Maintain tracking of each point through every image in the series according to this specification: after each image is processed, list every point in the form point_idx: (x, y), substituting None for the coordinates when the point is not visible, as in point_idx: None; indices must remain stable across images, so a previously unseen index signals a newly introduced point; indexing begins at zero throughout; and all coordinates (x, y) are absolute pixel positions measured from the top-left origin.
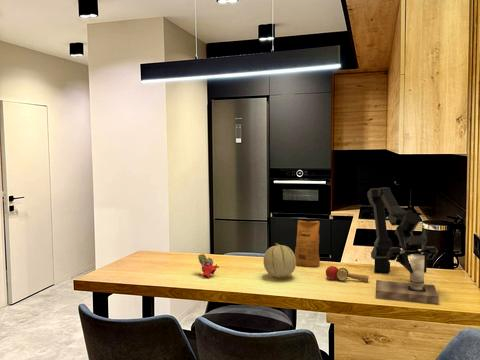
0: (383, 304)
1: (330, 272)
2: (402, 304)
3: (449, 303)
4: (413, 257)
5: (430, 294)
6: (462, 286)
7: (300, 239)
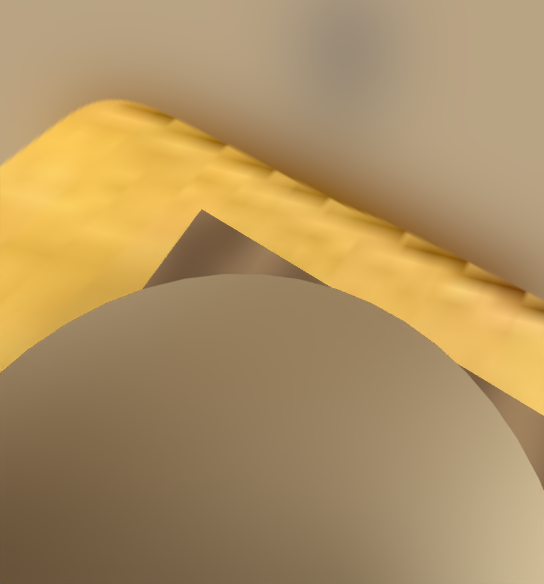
0: (519, 315)
1: None
2: (412, 288)
3: (125, 232)
4: (489, 458)
5: (227, 259)
6: None
7: None
